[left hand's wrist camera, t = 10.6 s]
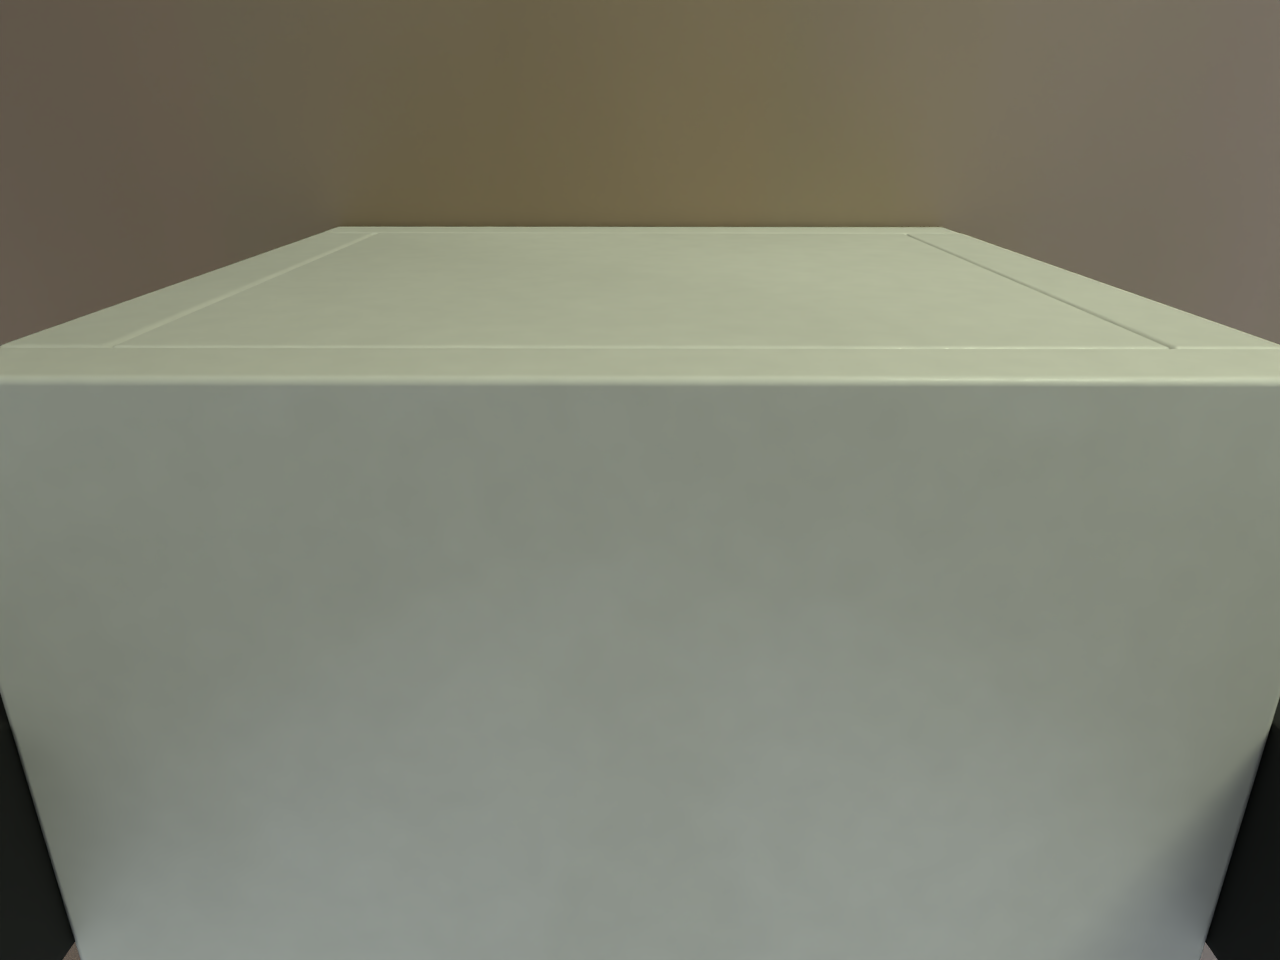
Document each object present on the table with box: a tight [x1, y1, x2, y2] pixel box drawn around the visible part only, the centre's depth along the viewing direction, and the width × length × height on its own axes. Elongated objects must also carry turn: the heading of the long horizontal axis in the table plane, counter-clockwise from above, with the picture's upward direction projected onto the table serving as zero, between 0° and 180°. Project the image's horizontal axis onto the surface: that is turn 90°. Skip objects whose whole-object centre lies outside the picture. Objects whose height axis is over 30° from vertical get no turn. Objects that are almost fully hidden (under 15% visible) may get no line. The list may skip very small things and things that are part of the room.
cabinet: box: [0, 227, 1280, 960], centre depth 16 cm, size 18×12×11 cm, turn 0°
